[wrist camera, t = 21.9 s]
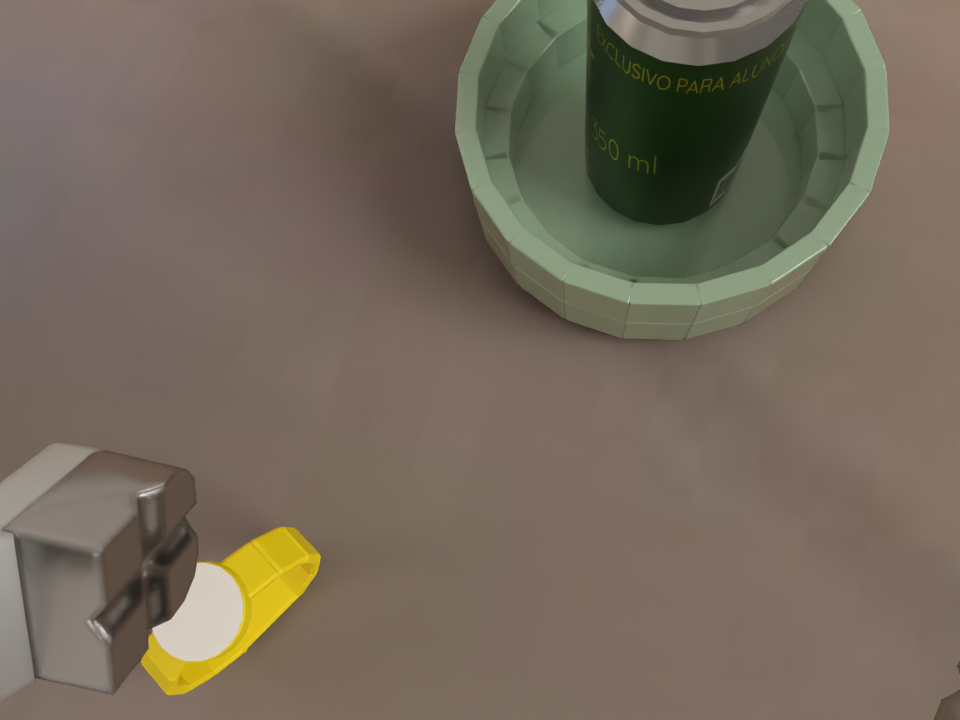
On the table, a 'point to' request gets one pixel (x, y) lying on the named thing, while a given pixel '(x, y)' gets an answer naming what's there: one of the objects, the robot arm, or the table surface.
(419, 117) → the table surface
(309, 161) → the table surface
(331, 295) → the table surface
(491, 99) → the bowl
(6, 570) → the robot arm
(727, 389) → the table surface
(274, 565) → the watch
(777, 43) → the beer can
